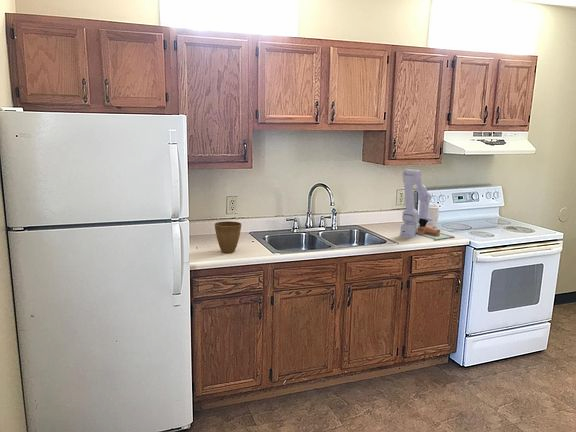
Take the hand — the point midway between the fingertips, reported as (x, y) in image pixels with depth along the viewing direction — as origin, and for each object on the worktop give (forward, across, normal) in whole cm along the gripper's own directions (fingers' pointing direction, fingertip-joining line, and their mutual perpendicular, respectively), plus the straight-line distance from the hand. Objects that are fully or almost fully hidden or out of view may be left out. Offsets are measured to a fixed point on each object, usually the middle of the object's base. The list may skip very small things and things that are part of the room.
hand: (422, 229), depth 326 cm
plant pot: (+2, +15, +136) cm, 137 cm away
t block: (+1, -7, 0) cm, 8 cm away
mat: (+2, -5, 0) cm, 5 cm away
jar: (+2, +12, -20) cm, 23 cm away
